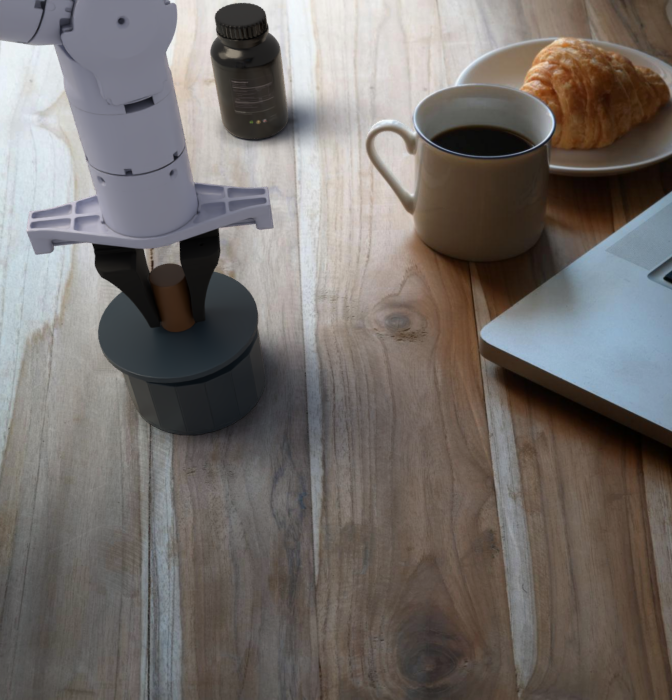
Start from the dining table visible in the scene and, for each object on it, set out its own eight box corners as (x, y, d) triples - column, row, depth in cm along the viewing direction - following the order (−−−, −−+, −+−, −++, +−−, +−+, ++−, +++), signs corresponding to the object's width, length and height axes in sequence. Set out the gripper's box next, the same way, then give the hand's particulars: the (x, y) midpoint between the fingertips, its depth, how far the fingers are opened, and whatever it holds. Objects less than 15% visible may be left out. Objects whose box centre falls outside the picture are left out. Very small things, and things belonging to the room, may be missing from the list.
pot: (131, 444, 67) (114, 395, 64) (133, 346, 74) (117, 297, 70) (271, 423, 69) (262, 374, 65) (260, 330, 76) (252, 280, 72)
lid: (98, 399, 61) (77, 343, 57) (104, 289, 68) (85, 232, 64) (265, 376, 63) (255, 320, 59) (254, 271, 70) (244, 215, 66)
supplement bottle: (218, 110, 98) (199, 0, 89) (282, 101, 100) (270, -7, 91) (227, 146, 94) (208, 34, 85) (294, 136, 95) (283, 26, 87)
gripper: (256, 99, 58) (278, 264, 68) (11, 121, 56) (71, 288, 66) (265, 165, 54) (288, 331, 63) (-2, 191, 51) (65, 360, 61)
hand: (178, 314), depth 64 cm, fingers closed on lid, 2 cm apart
